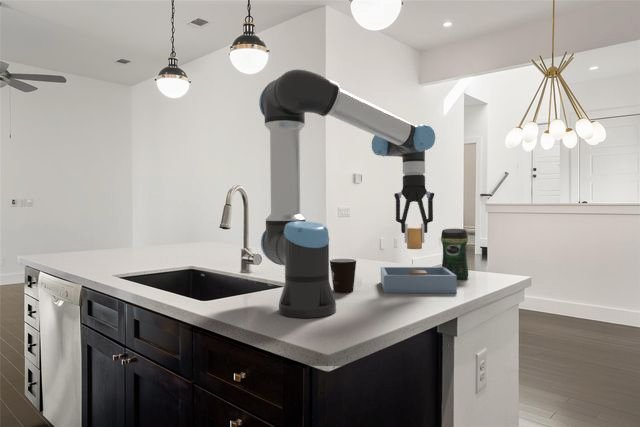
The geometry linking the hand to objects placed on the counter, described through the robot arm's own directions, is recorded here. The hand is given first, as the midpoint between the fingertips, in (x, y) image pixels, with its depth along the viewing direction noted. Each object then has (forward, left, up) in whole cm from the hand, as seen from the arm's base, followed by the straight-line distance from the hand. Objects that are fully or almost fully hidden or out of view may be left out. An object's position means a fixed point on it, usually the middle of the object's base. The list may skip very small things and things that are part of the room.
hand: (414, 242), depth 148 cm
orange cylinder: (0, 0, -2) cm, 2 cm away
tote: (-4, 0, -15) cm, 15 cm away
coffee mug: (-9, +24, -15) cm, 30 cm away
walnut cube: (-8, 0, -14) cm, 16 cm away
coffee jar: (+15, -17, -15) cm, 27 cm away
